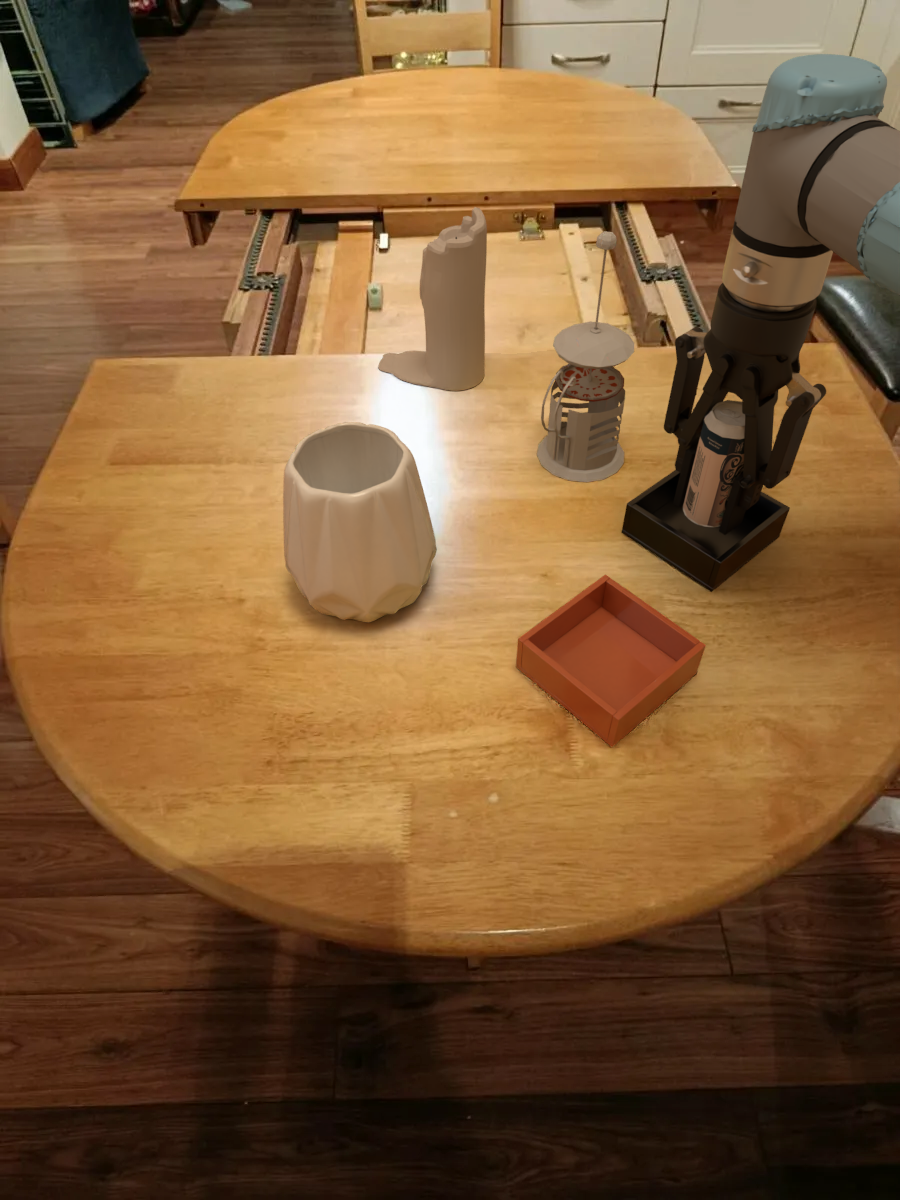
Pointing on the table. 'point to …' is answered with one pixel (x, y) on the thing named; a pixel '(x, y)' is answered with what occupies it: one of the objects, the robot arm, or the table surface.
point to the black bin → (700, 533)
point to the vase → (356, 522)
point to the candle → (450, 311)
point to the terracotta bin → (609, 658)
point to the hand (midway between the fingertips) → (707, 512)
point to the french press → (587, 397)
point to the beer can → (716, 464)
